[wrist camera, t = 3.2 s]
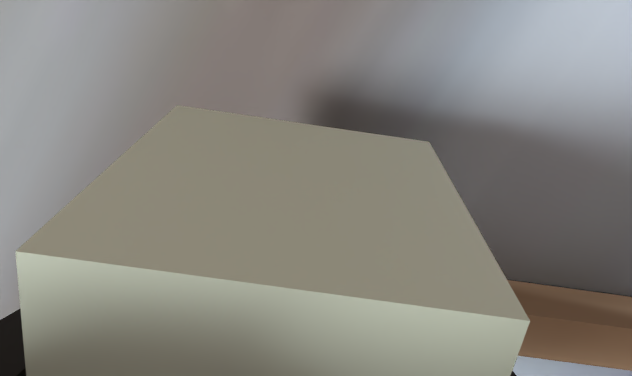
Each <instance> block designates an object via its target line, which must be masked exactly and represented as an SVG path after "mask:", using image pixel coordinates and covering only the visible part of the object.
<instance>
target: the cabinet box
mask: <svg viewBox="0 0 632 376" xmlns="http://www.w3.org/2000/svg"><path fill="white" fill-rule="evenodd" d="M15 252H16V263H17V275H18V286H19V298H20V309H21V321H22V332H23V344H24V356H25V367H26V376H510V375H511V373H512V370H513V367H514V364H515V362H516V359H517V356H518V353H519V351H520V348H521V345H522V342H523V340H524V337H525V334H526V331H527V328H528V326H529V323H530V320H529V318H528V316H527V314H526V313H525V311H524V309H523V307H522V306H521V304H520V302H519V300H518V299H517V297H516V295H515V293H514V291H513V290H512V288H511V286H510V284H509V283H508V281H507V279H506V277H505V275H504V274H503V272H502V270H501V268H500V267H499V265H498V263H497V261H496V259H495V258H494V256H493V254H492V252H491V251H490V249H489V247H488V245H487V243H486V242H485V240H484V238H483V236H482V235H481V233H480V231H479V229H478V228H477V226H476V224H475V222H474V220H473V219H472V217H471V215H470V213H469V212H468V210H467V208H466V206H465V204H464V203H463V201H462V199H461V197H460V196H459V194H458V192H457V190H456V188H455V187H454V185H453V183H452V181H451V180H450V178H449V176H448V174H447V172H446V171H445V169H444V167H443V165H442V164H441V162H440V160H439V158H438V157H437V155H436V153H435V151H434V149H433V148H432V146H431V144H430V142H427V141H421V140H414V139H407V138H400V137H393V136H386V135H379V134H372V133H365V132H359V131H352V130H345V129H338V128H331V127H324V126H317V125H310V124H304V123H297V122H290V121H283V120H276V119H269V118H262V117H255V116H248V115H242V114H235V113H228V112H221V111H214V110H207V109H200V108H193V107H187V106H180V105H177V106H176V107H175V108H174V109H172V110H171V111H170V112H169V113H168V114H167V115H166V116H165V117H164V118H162V119H161V120H160V121H159V122H158V123H157V124H156V125H155V126H154V127H153V128H151V129H150V130H149V131H148V132H147V133H146V134H145V135H144V136H143V137H141V138H140V139H139V140H138V141H137V142H136V143H135V144H134V145H133V146H131V147H130V148H129V149H128V150H127V151H126V152H125V153H124V154H123V155H122V156H120V157H119V158H118V159H117V160H116V161H115V162H114V163H113V164H112V165H110V166H109V167H108V168H107V169H106V170H105V171H104V172H103V173H102V174H101V175H99V176H98V177H97V178H96V179H95V180H94V181H93V182H92V183H91V184H89V185H88V186H87V187H86V188H85V189H84V190H83V191H82V192H81V193H79V194H78V195H77V196H76V197H75V198H74V199H73V200H72V201H71V202H70V203H68V204H67V205H66V206H65V207H64V208H63V209H62V210H61V211H60V212H58V213H57V214H56V215H55V216H54V217H53V218H52V219H51V220H50V221H48V222H47V223H46V224H45V225H44V226H43V227H42V228H41V229H40V230H39V231H37V232H36V233H35V234H34V235H33V236H32V237H31V238H30V239H29V240H27V241H26V242H25V243H24V244H23V245H22V246H21V247H20V248H19V249H18V250H16V251H15Z"/></svg>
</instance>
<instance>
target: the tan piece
mask: <svg viewBox="0 0 632 376" xmlns="http://www.w3.org/2000/svg"><path fill="white" fill-rule="evenodd" d="M507 281H508V283H509V284H510V286H511V288H512V290H513V291H514V293H515V295H516V297H517V299H518V300H519V302H520V304H521V306H522V307H523V309H524V311H525V313H526V314H527V316H528V318H529V320H530V323H529V326H528V328H527V331H526V334H525V337H524V340H523V342H522V345H521V348H520V351H519V353H518V356H525V357H533V358H540V359H548V360H555V361H563V362H571V363H578V364H586V365H593V366H601V367H608V368H616V369H623V370H631V371H632V297H629V296H621V295H614V294H607V293H599V292H592V291H585V290H577V289H570V288H563V287H555V286H548V285H541V284H534V283H526V282H519V281H512V280H507Z"/></svg>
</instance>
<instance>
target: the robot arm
mask: <svg viewBox="0 0 632 376" xmlns="http://www.w3.org/2000/svg"><path fill="white" fill-rule="evenodd" d="M0 376H26V367H25V356H24V344H23V332H22V321H21V309H19V310H17V311H15V312H14V313H12V314H10V315H8V316H7V317H5V318H3V319H1V320H0ZM510 376H516V375H515V373H514V372H513V371H512V373H511V375H510Z"/></svg>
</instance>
